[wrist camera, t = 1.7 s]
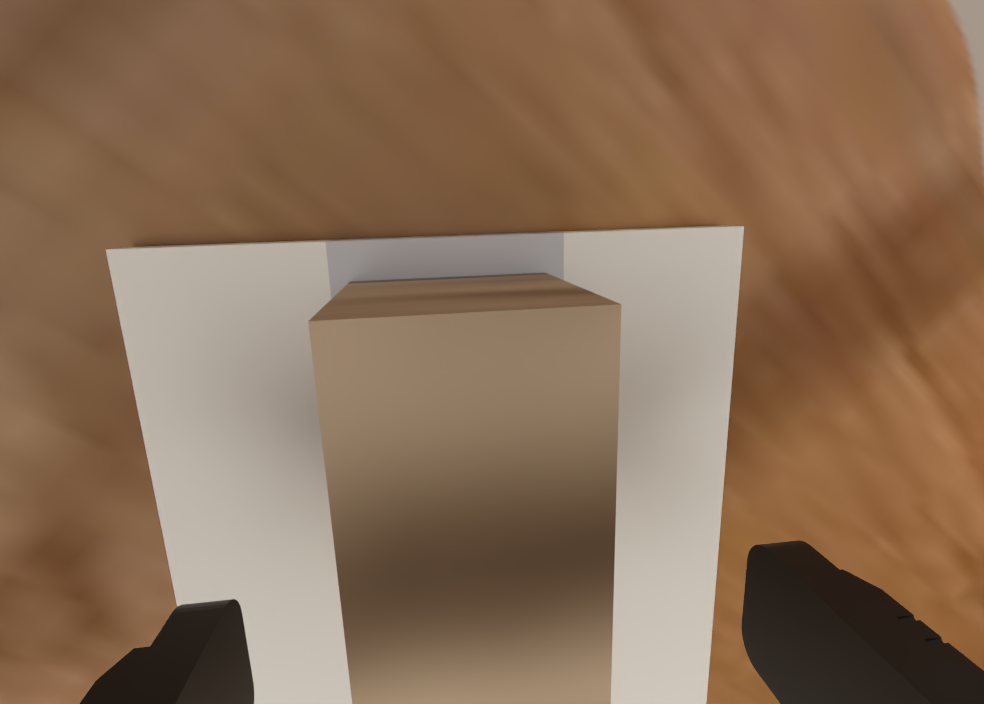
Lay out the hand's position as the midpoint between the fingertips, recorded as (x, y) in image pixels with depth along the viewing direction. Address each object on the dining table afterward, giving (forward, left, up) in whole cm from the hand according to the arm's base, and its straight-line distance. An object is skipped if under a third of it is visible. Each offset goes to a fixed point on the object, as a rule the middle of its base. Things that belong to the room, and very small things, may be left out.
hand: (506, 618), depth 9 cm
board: (+7, 0, -8) cm, 11 cm away
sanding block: (0, 0, -7) cm, 7 cm away
